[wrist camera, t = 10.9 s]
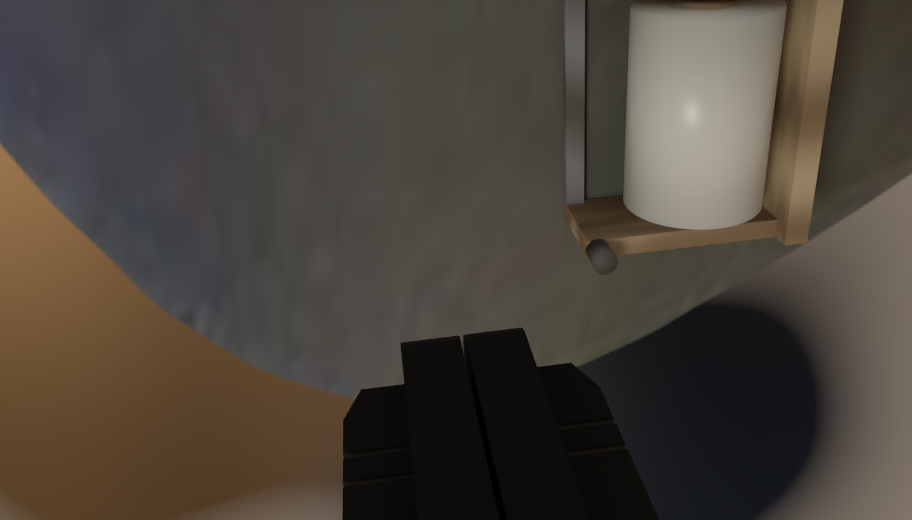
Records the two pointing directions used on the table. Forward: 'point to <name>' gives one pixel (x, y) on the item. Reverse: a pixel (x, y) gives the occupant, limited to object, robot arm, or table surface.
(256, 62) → the table surface
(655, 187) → the paper roll
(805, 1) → the oak cradle
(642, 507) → the robot arm
